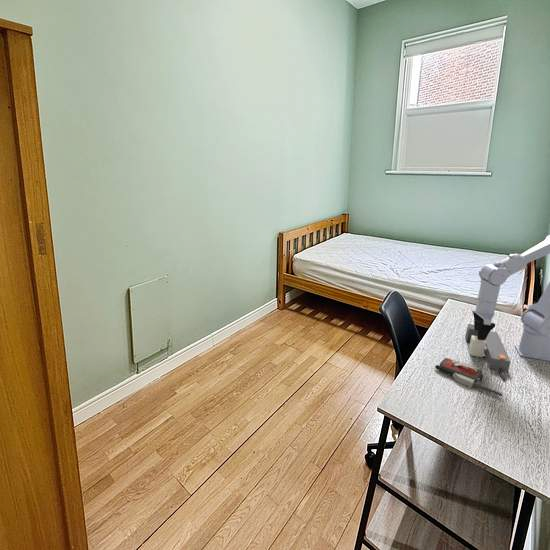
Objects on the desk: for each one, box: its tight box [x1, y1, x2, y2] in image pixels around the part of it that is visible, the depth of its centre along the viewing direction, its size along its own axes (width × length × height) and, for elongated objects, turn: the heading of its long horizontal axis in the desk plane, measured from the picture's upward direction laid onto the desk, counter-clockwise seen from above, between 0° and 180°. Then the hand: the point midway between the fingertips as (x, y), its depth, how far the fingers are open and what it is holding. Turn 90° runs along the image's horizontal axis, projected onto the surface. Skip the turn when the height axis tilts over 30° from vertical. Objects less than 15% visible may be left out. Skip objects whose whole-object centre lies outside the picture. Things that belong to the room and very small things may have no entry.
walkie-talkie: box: [434, 357, 503, 397], centre depth 113 cm, size 9×4×20 cm
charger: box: [468, 335, 488, 358], centre depth 127 cm, size 7×4×6 cm, turn 69°
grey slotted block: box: [464, 323, 511, 381], centre depth 126 cm, size 10×28×6 cm, turn 159°
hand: (479, 334), depth 126 cm, fingers open, 7 cm apart
